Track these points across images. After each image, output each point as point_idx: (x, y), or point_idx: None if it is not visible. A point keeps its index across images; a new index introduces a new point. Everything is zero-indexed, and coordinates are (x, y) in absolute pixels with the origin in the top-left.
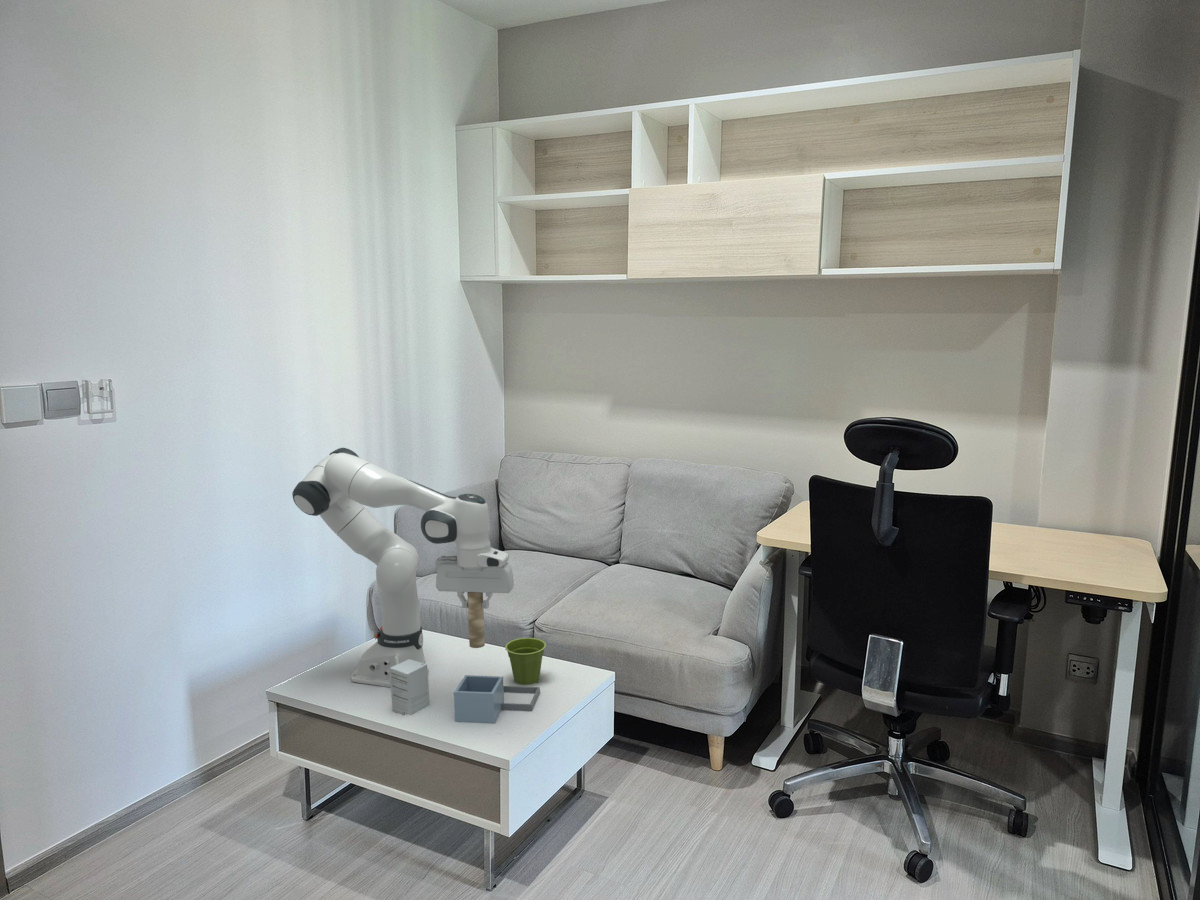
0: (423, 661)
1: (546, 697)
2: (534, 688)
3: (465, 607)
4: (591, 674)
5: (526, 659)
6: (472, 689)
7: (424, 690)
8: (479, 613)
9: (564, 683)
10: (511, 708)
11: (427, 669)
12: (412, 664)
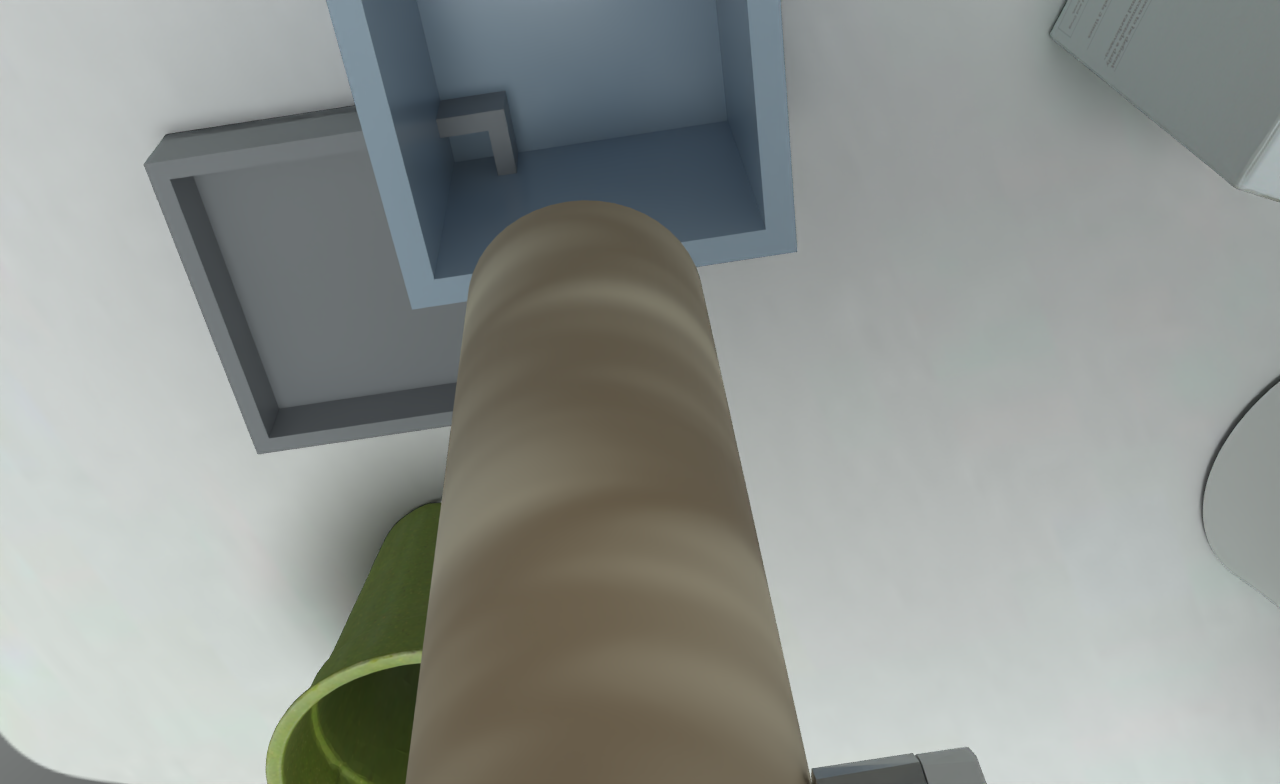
0: (1275, 554)
1: (210, 400)
2: (292, 431)
3: (871, 765)
4: (102, 730)
5: (378, 635)
6: (702, 181)
7: (1147, 37)
8: (443, 670)
9: (202, 597)
10: (329, 123)
11: (1217, 534)
12: None
